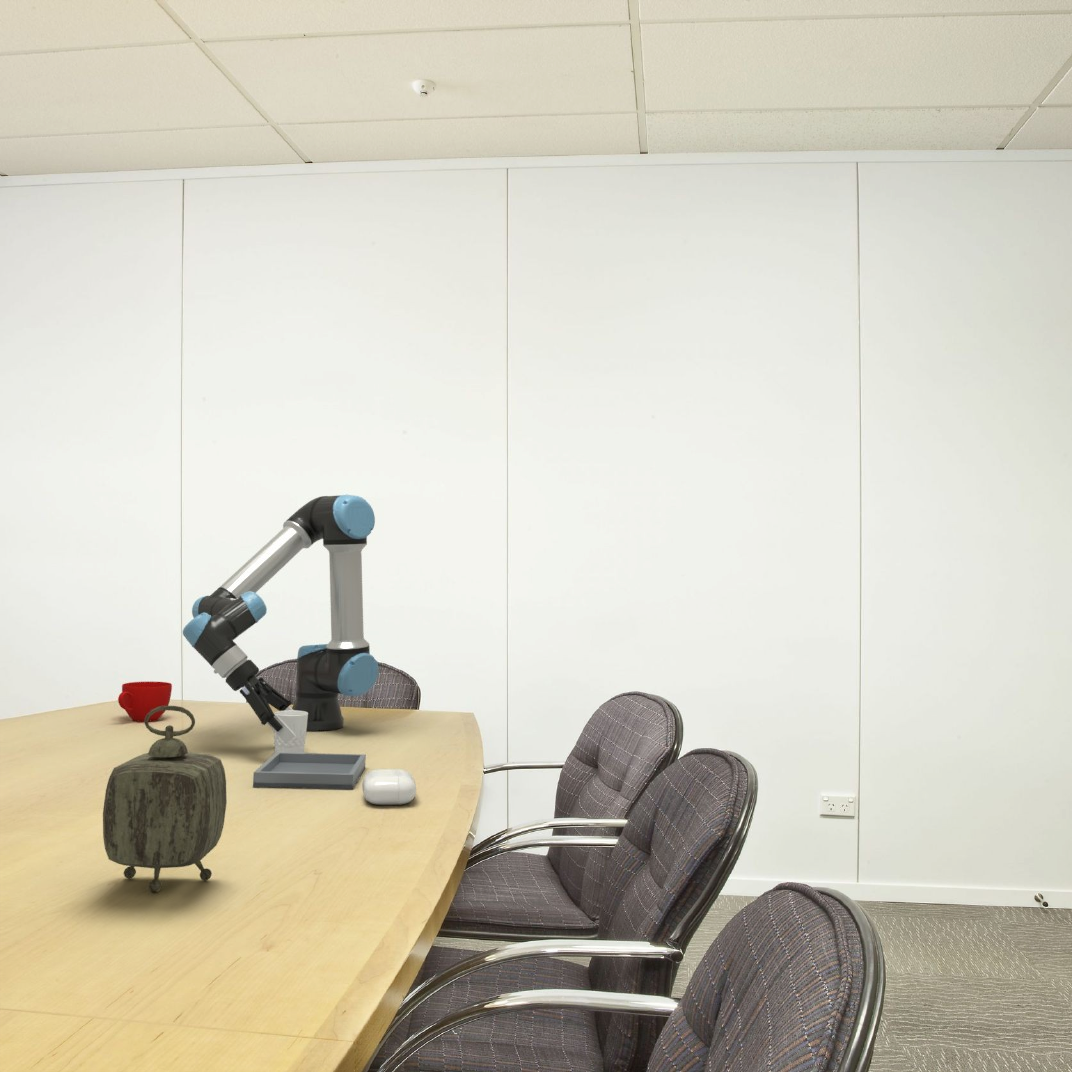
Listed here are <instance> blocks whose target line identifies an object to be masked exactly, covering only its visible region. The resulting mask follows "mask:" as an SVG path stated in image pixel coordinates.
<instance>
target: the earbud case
mask: <svg viewBox="0 0 1072 1072" xmlns="http://www.w3.org/2000/svg"><path fill="white" fill-rule="evenodd" d="M362 793H363V796H364V799H365V801H367V802H368V803H370V804H372V805H376V806H388V805H389V806H394V805H396V806H399V805H406V804H409V803H410V802H411V801H413V799H414V798H415V797H416V795H417V784H416V782H415V779H414V777H413V775H412V774H411V773H410V771H408V770H405V769H402V768H381V769H373V770H370V771H368V772H366V774H365V775H364V777H363V778H362Z"/></svg>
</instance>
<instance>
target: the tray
mask: <svg viewBox="0 0 1072 1072" xmlns="http://www.w3.org/2000/svg"><path fill="white" fill-rule="evenodd" d="M366 758H367V754H364V753H362V754H361V753H360V754H359V753H358V754H357V753H353V754H352V753H323V752H322V753H321V752H320V753H317V752H316V753H315V752H304V753H285V752H276V753H275V752H274V754H273V755H271V756H270V757H269V758H268V759H267V760H266V761H264V763H262V765H260V766H259V767H258V768H257V769H256V770H255V771H253V778H252V788H260V787H268V788H267V789H271V788H272V789H273V788H274V789H275V788H276V789H306V790H307V789H311V790H315V789H318V790H349V789H350V790H353V789H354V787H355V786H356V784H357V783H358V781H359V780H360V778H361V776H362V774H363V772H364V771H365V769H366Z"/></svg>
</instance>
